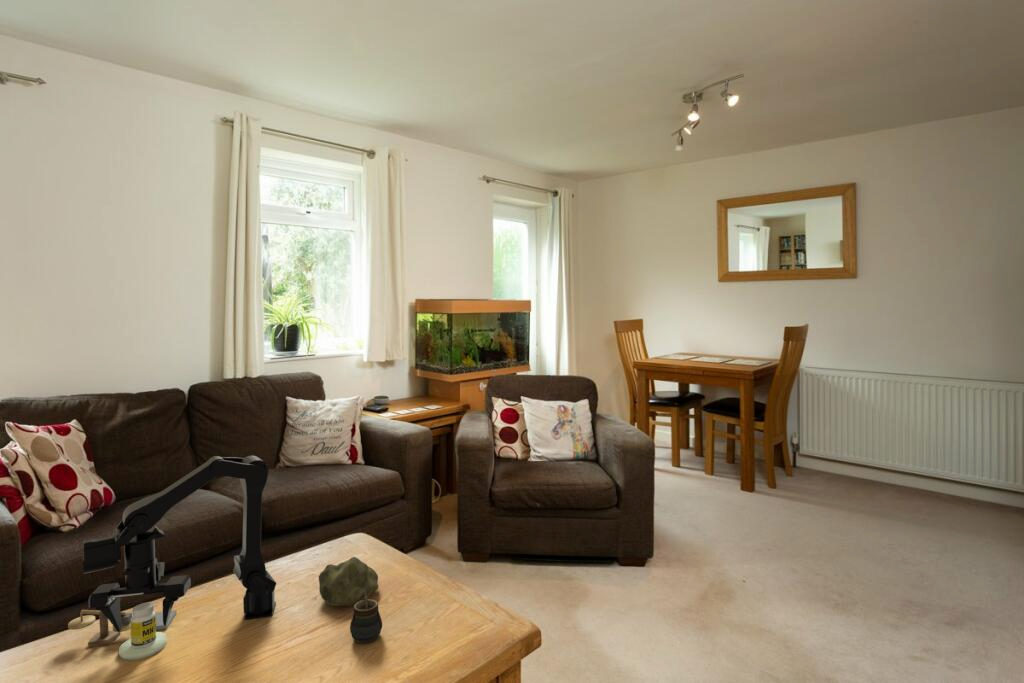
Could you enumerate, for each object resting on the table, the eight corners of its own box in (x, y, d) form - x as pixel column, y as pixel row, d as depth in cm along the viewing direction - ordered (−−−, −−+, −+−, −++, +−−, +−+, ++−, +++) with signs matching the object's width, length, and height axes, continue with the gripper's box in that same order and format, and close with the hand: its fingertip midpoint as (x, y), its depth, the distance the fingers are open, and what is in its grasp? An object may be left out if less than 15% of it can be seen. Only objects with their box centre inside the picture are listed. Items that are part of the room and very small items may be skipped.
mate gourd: (353, 650, 126) (352, 607, 125) (347, 634, 132) (346, 592, 132) (385, 641, 129) (384, 599, 129) (377, 626, 136) (376, 585, 135)
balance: (142, 629, 135) (141, 598, 134) (134, 641, 130) (132, 608, 129) (75, 638, 131) (74, 606, 131) (64, 650, 126) (62, 617, 126)
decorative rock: (387, 605, 149) (390, 569, 148) (327, 619, 140) (330, 581, 139) (368, 578, 161) (371, 544, 160) (311, 589, 152) (314, 554, 151)
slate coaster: (176, 613, 142) (176, 609, 142) (167, 628, 135) (166, 624, 135) (145, 617, 140) (145, 613, 140) (134, 633, 133) (133, 628, 133)
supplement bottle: (143, 650, 124) (142, 613, 124) (126, 647, 125) (124, 610, 125) (161, 638, 129) (160, 602, 129) (144, 635, 130) (142, 600, 130)
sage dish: (172, 634, 133) (171, 629, 133) (158, 656, 124) (158, 651, 124) (128, 640, 130) (128, 635, 130) (111, 663, 122) (111, 657, 122)
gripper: (196, 541, 136) (198, 604, 137) (108, 550, 132) (111, 615, 132) (182, 561, 126) (184, 628, 126) (85, 571, 121) (88, 641, 122)
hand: (142, 627), depth 127 cm, fingers open, 9 cm apart
